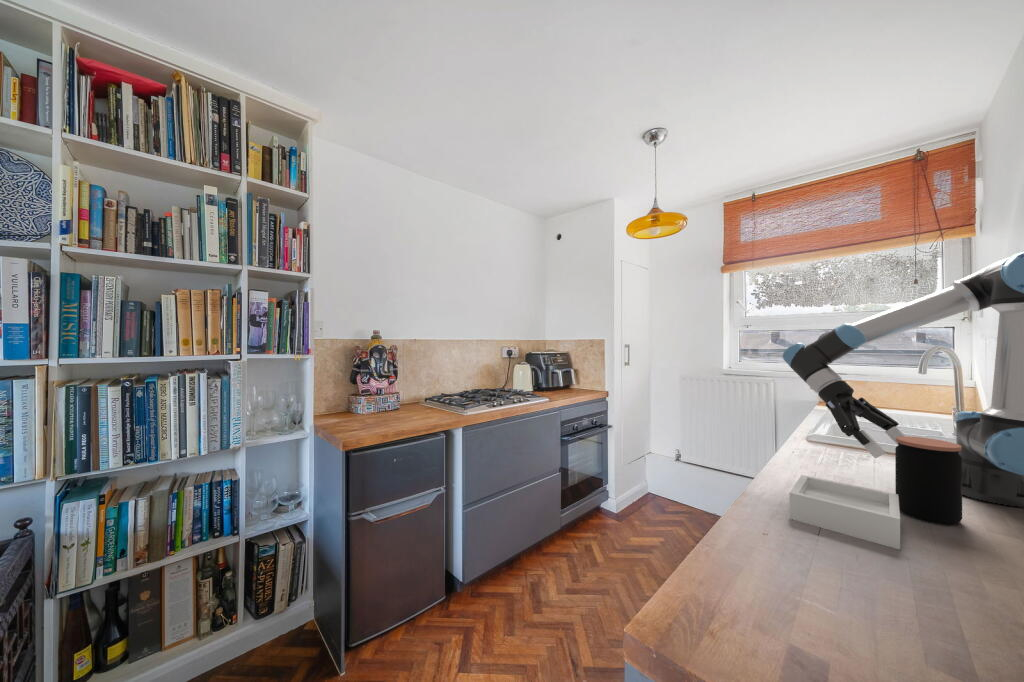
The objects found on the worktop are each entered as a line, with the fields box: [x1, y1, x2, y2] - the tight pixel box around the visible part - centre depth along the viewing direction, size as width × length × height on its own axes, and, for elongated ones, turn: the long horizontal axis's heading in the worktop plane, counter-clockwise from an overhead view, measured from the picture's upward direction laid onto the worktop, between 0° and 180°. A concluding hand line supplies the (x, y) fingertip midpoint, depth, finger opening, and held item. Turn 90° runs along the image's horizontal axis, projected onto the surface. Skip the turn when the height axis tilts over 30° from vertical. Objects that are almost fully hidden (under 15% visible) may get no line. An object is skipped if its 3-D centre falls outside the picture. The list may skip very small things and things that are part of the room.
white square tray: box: [788, 474, 901, 550], centre depth 86 cm, size 18×18×6 cm
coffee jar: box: [894, 435, 963, 526], centre depth 89 cm, size 11×11×18 cm
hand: (897, 453), depth 93 cm, fingers open, 13 cm apart
